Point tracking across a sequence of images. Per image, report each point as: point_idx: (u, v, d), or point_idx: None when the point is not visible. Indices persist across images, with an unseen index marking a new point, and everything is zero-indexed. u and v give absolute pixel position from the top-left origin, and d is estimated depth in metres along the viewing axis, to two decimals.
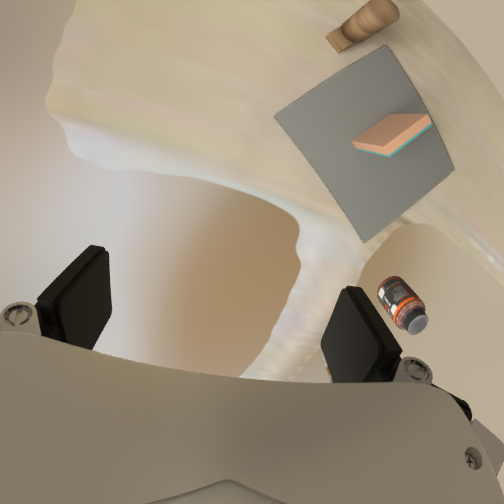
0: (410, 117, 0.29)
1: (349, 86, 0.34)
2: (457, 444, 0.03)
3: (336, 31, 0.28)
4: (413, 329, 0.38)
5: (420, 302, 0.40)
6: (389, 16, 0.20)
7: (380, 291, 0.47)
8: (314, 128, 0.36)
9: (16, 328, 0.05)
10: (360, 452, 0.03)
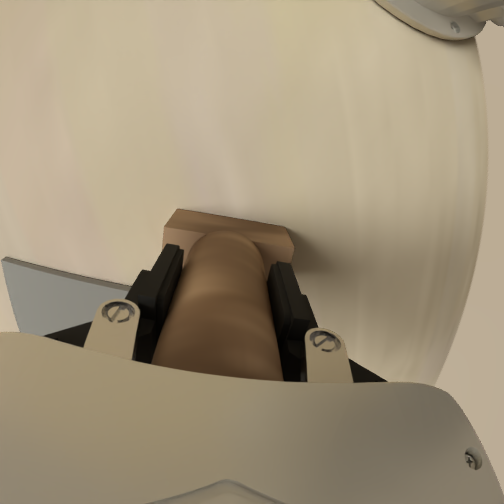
0: None
1: None
2: (457, 444, 0.03)
3: (180, 235, 0.13)
4: None
5: None
6: None
7: None
8: (42, 320, 0.17)
9: (111, 324, 0.06)
10: (360, 452, 0.03)
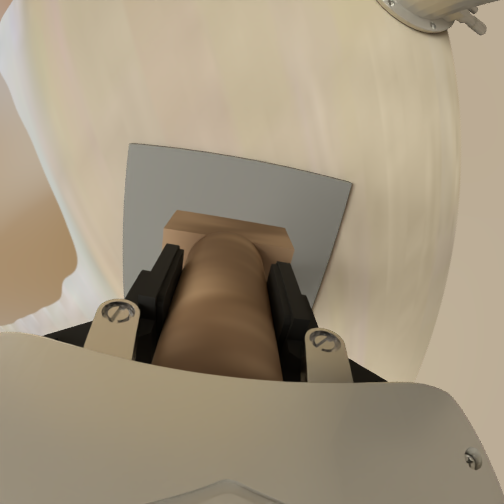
0: None
1: (245, 186, 0.27)
2: (457, 444, 0.03)
3: (179, 236, 0.13)
4: None
5: None
6: None
7: None
8: (157, 194, 0.27)
9: (111, 324, 0.06)
10: (360, 452, 0.03)
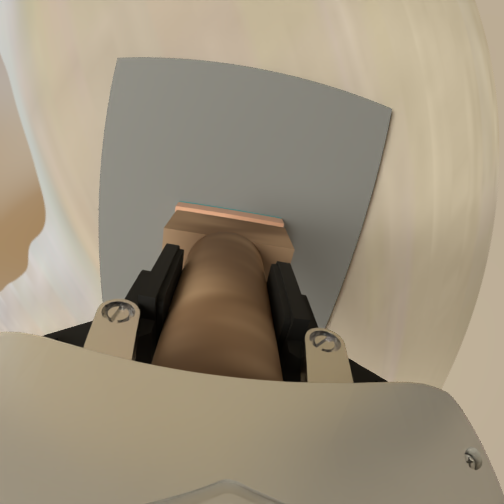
0: None
1: (262, 102, 0.19)
2: (457, 444, 0.03)
3: (179, 236, 0.13)
4: None
5: None
6: None
7: None
8: (147, 114, 0.19)
9: (111, 324, 0.06)
10: (360, 452, 0.03)
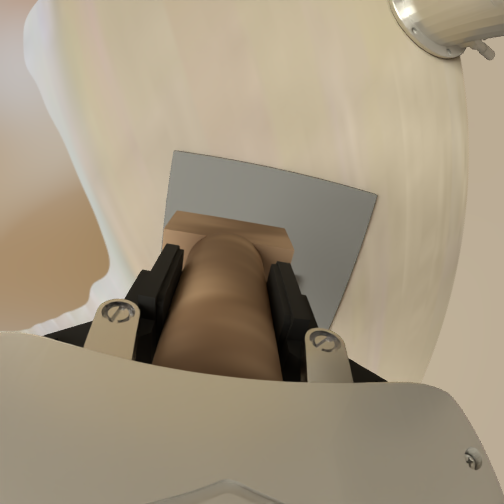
0: None
1: (284, 196, 0.29)
2: (457, 444, 0.03)
3: (179, 237, 0.13)
4: None
5: None
6: None
7: None
8: (200, 201, 0.29)
9: (111, 324, 0.06)
10: (360, 452, 0.03)
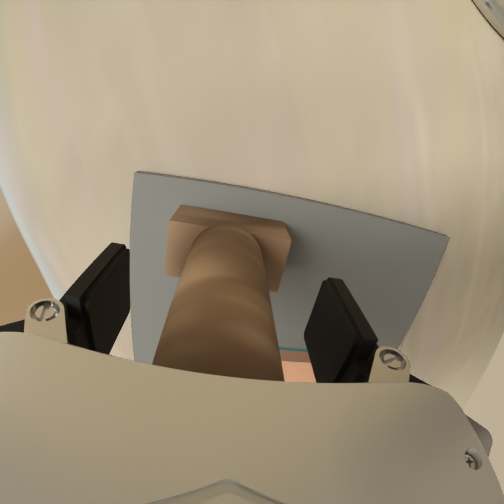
0: None
1: (321, 246, 0.18)
2: (457, 444, 0.03)
3: (184, 228, 0.14)
4: None
5: None
6: None
7: None
8: None
9: (41, 324, 0.06)
10: (360, 452, 0.03)
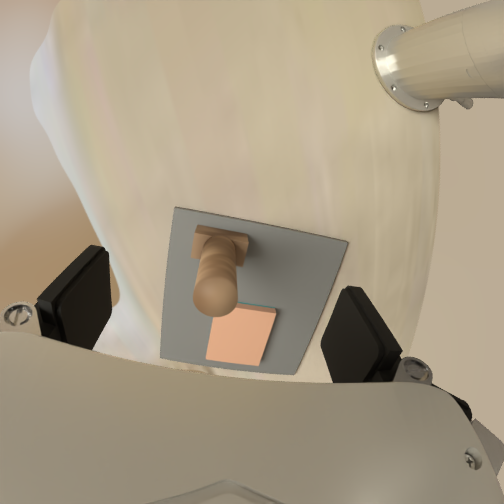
0: (255, 352, 0.40)
1: (267, 246, 0.35)
2: (457, 444, 0.03)
3: (201, 236, 0.31)
4: None
5: None
6: (210, 308, 0.23)
7: None
8: None
9: (16, 328, 0.05)
10: (360, 452, 0.03)
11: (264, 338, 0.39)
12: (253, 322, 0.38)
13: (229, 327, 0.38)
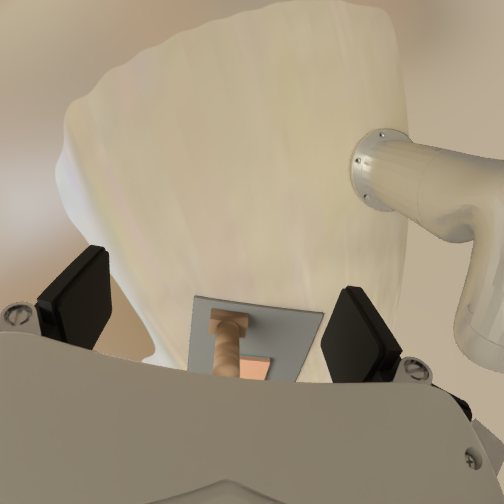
0: None
1: (262, 320, 0.48)
2: (457, 444, 0.03)
3: (214, 321, 0.44)
4: None
5: None
6: None
7: None
8: None
9: (16, 328, 0.05)
10: (360, 452, 0.03)
11: (262, 377, 0.52)
12: (254, 368, 0.51)
13: None
